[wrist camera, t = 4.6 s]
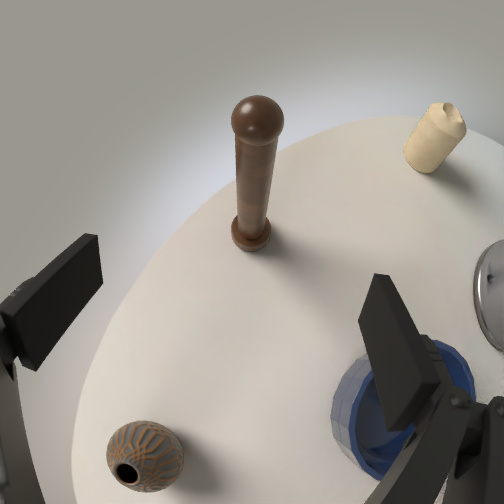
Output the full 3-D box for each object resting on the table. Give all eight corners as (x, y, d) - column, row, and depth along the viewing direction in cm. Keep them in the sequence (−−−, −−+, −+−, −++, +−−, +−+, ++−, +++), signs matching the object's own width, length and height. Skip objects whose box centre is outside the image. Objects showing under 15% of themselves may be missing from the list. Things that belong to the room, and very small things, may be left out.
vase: (135, 404, 28) (99, 418, 20) (198, 433, 27) (182, 459, 19) (116, 456, 26) (79, 482, 17) (176, 485, 25) (155, 523, 17)
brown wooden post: (258, 210, 35) (272, 72, 17) (276, 241, 34) (310, 116, 16) (225, 226, 34) (209, 92, 16) (242, 258, 33) (242, 140, 15)
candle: (442, 172, 38) (479, 130, 28) (413, 176, 37) (450, 130, 28) (425, 140, 39) (456, 95, 30) (396, 142, 39) (426, 94, 29)
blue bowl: (410, 320, 31) (442, 310, 25) (455, 414, 28) (489, 420, 21) (305, 389, 29) (321, 397, 23) (361, 486, 25) (384, 509, 19)
